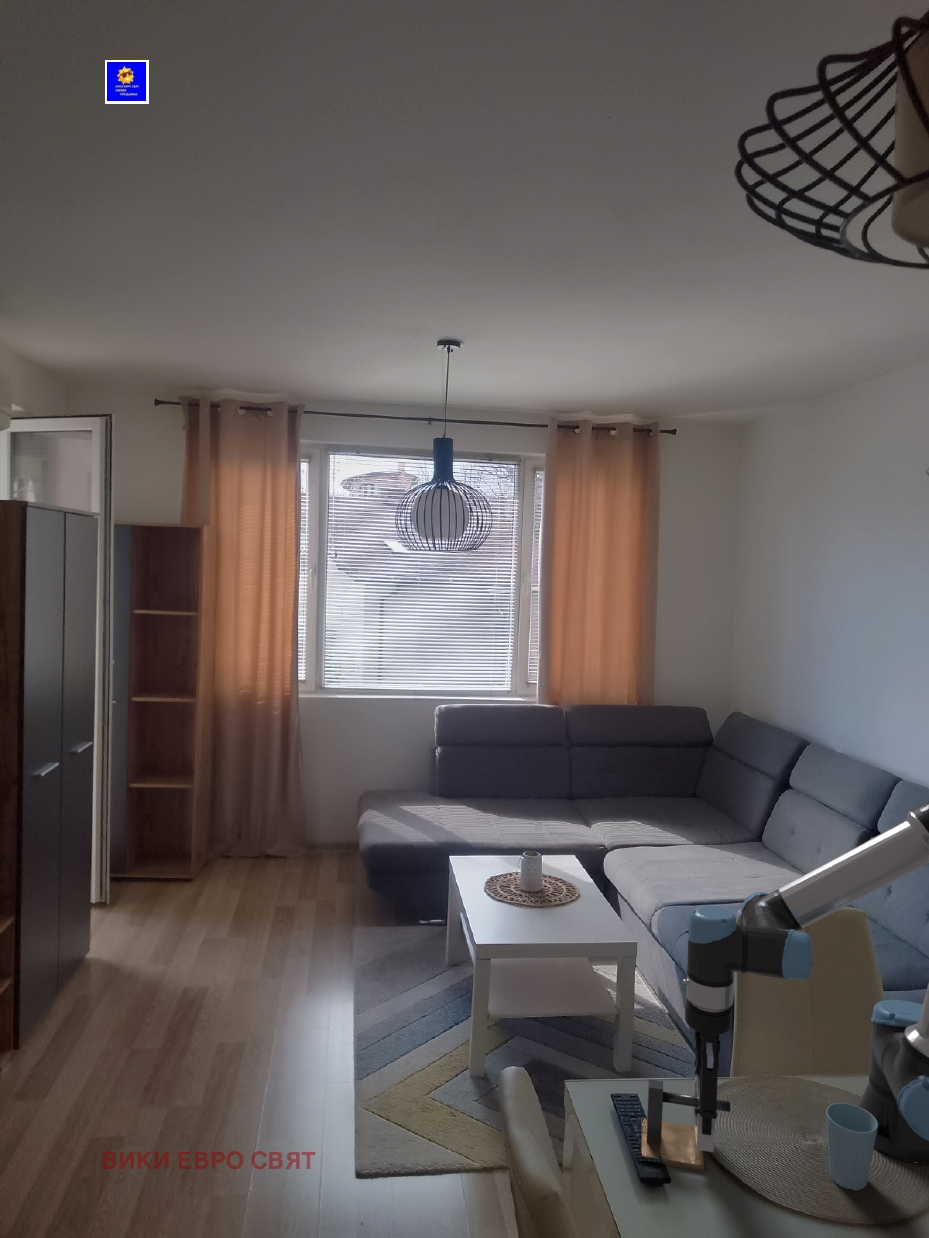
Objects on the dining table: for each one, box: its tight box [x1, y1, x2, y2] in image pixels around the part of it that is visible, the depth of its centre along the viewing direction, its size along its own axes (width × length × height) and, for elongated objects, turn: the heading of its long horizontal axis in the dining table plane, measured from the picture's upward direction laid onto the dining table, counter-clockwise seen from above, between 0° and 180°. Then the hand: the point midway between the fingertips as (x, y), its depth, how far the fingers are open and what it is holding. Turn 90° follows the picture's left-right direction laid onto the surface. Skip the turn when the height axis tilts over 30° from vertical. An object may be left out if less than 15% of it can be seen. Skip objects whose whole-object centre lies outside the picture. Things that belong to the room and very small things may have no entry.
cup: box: [825, 1102, 878, 1191], centre depth 139 cm, size 8×8×10 cm
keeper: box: [641, 1079, 731, 1172], centre depth 145 cm, size 14×10×10 cm
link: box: [693, 1074, 700, 1143], centre depth 145 cm, size 2×8×8 cm, turn 168°
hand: (703, 1132), depth 145 cm, fingers closed on link, 8 cm apart
